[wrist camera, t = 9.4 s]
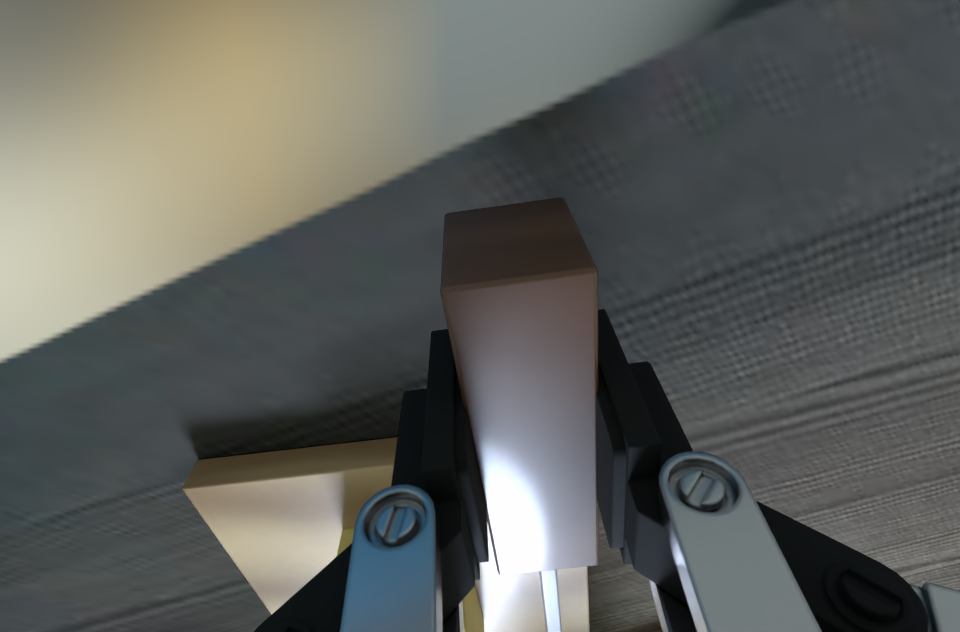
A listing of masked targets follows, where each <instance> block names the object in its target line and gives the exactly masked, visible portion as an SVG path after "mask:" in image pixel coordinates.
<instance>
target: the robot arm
mask: <svg viewBox="0 0 960 632" xmlns="http://www.w3.org/2000/svg"><path fill="white" fill-rule="evenodd" d="M596 446H597V501H598V504H599V508H600V512H601V516H602V520H603V524H604V527H605V531H606V535H607V539H608V543H609V546H610V548H611V549H613V548H620V551H621V555H622V558H623V562H624V564H633V568H634V569H635V570H636V571H638V572H639V573H641V574H642V575H643V576H645V577H646V578H648V579H649V580H650V587H651V590H652V594H653V598H654V602H655V606H656V609H657V613H658V617H659V621H660V625H661V628H662V632H960V591H959V590H955V589H951V588H947V587H944V586H940V585H936V584H932V583H928V582H925V583H924V585H923V586H922V588H921V587H918V586H914V585H910V584H908V583H907V582H906V581H905V580H904V579H903V578H902V577H901V576H899V575H898V574H897V573H896V572H894V571H893V570H891V569H890V568H888V567H886V566H885V565H883V564H881V563H880V562H878V561H876V560H874V559H872V558H870V557H868V556H866V555H864V554H862V553H860V552H858V551H856V550H854V549H852V548H850V547H848V546H846V545H844V544H842V543H840V542H838V541H836V540H834V539H832V538H830V537H828V536H826V535H824V534H822V533H820V532H818V531H816V530H814V529H812V528H810V527H808V526H806V525H804V524H802V523H800V522H798V521H795V520H793V519H791V518H789V517H787V516H785V515H783V514H781V513H779V512H777V511H775V510H773V509H771V508H769V507H767V506H765V505H763V504H761V503H759V502H757V501H756V500H755V498H754V496H753V494H752V492H751V490H750V488H749V486H748V484H747V482H746V480H745V479H744V477H743V476H742V475H741V473H740V472H739V470H737V469H736V468H735V467H734V466H733V465H731V464H730V463H729V462H728V461H726V460H724V459H722V458H720V457H718V456H716V455H712V454H708V453H704V452H693V450H692V448H691V446H690V444H689V442H688V440H687V438H686V436H685V434H684V432H683V430H682V428H681V425H680V423H679V421H678V419H677V417H676V415H675V413H674V411H673V409H672V407H671V405H670V403H669V401H668V399H667V397H666V395H665V393H664V390H663V388H662V386H661V384H660V382H659V380H658V378H657V376H656V374H655V372H654V370H653V368H652V366H651V365H650V363H648V362H639V363H631V364H628V362H627V360H626V357H625V355H624V353H623V350H622V348H621V346H620V343H619V341H618V339H617V336H616V334H615V332H614V329H613V327H612V325H611V322H610V320H609V318H608V315H607V313H606V311H605V310H604V309H602V310H598V392H597V393H596ZM482 562H489V549H488V530H487V511H486V506H485V501H484V496H483V491H482V486H481V481H480V476H479V471H478V466H477V461H476V456H475V451H474V446H473V441H472V436H471V431H470V427H469V422H468V417H467V412H466V408H465V407H464V405H463V400H462V395H461V390H460V385H459V380H458V376H457V371H456V366H455V361H454V356H453V351H452V346H451V341H450V336H449V331H448V329H445V330H437V331H432V333H431V344H430V357H429V370H428V383H427V389H419V390H411V391H405V392H404V394H403V399H402V407H401V414H400V422H399V429H398V437H397V445H396V452H395V460H394V467H393V475H392V483H391V487H388V488H385V489H383V490H381V491H380V492H378V493H376V494H374V495H373V496H372V497H371V498H370V499H369V500H368V501H367V502H366V503H365V504H364V505H363V507H362V508H361V510H360V511H359V513H358V516H357V519H356V522H355V527H354V534H353V542H352V543H351V544H350V545H349V546H348V547H347V548H346V549H345V550H344V551H342V552H341V553H340V554H339V555H338V556H337V557H336V558H335V559H333V560H332V561H331V562H330V563H329V564H328V565H327V566H326V567H325V568H323V569H322V570H321V571H320V572H319V573H318V574H317V575H316V576H314V577H313V578H312V579H311V580H310V581H309V582H308V583H307V584H306V585H304V586H303V587H302V588H301V589H300V590H299V591H298V592H297V593H295V594H294V595H293V596H292V597H291V598H290V599H289V600H288V601H286V602H285V603H284V604H283V605H282V606H281V607H280V608H279V609H278V610H276V611H275V612H274V613H273V614H272V615H271V616H270V617H269V618H267V619H266V620H265V621H264V622H263V623H262V624H261V625H260V626H259V627H258V628H257V629H256V630H255V631H254V632H464V626H463V606H462V600H463V599H464V598H465V597H466V595H467V594H468V593H469V592H470V591H471V590H472V589H473V588H474V586H475V580H480V563H482Z"/></svg>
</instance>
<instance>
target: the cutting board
mask: <svg viewBox="0 0 960 632" xmlns="http://www.w3.org/2000/svg"><path fill="white" fill-rule="evenodd" d="M396 445H397V437H395V438H386V439H377V440H368V441H360V442H351V443H342V444H333V445H325V446H316V447H307V448H298V449H290V450H281V451H272V452H263V453H255V454H246V455H237V456H228V457H220V458H211V459H202V460H198V461H197V462H196V464H195V466H194V468H193V470H192V472H191V473H190V475H189V477H188V479H187V481H186V483H185V485H184V486H183V491H184V492H185V493H186V495H187V496H188V498H189V499H190V500H191V502H192V503H193V505H194V506H195V508H196V509H197V510H198V512H199V513H200V515H201V516H202V517H203V519H204V520H205V522H206V523H207V524H208V526H209V527H210V529H211V530H212V531H213V533H214V534H215V536H216V537H217V538H218V540H219V541H220V543H221V544H222V545H223V547H224V548H225V550H226V551H227V553H228V554H229V555H230V557H231V558H232V560H233V561H234V562H235V564H236V565H237V567H238V568H239V569H240V571H241V572H242V574H243V575H244V576H245V578H246V579H247V581H248V582H249V583H250V585H251V586H252V588H253V589H254V590H255V592H256V593H257V595H258V596H259V597H260V599H261V600H262V602H263V603H264V605H265V606H266V607H267V609H268V610H269V612H270V613H271V614H273V613H274V612H275V611H276V610H278V609H279V608H280V607H281V606H282V605H283V604H284V603H285V602H286V601H288V600H289V599H290V598H291V597H292V596H293V595H294V594H295V593H297V592H298V591H299V590H300V589H301V588H302V587H303V586H304V585H306V584H307V583H308V582H309V581H310V580H311V579H312V578H313V577H314V576H316V575H317V574H318V573H319V572H320V571H321V570H322V569H323V568H325V567H326V566H327V565H328V564H329V563H330V562H331V561H332V560H333V559H335V558H336V556H337V552H338V547H339V542H340V538H341V533H342V529H346V528H354V527H355V522H356V519H357V516H358V513H359V511H360V510H361V508H362V507H363V505H364V504H365V503H366V502H367V501H368V500H369V499H370V498H371V497H372V496H373V495H374V494H376V493H378V492H380V491H381V490H383V489H385V488H388V487H391V483H392V475H393V467H394V460H395V452H396ZM487 530H488V549H489V562H482V563H480V580H475V589H476V593H477V597H478V601H479V605H480V609H481V613H482V617H483V621H484V632H546V625H545V617H544V609H543V601H542V593H541V585H540V576H539V572H529V573H520V574H510V575H499V574H498V571H497V567H496V562H495V557H494V552H493V547H492V542H491V537H490V532H489V527H488V522H487ZM557 582H558V593H559V604H560V616H561V627H562V632H590V627H589V589H588V566H586V567H576V568H567V569H558V570H557Z"/></svg>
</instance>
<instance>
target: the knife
mask: <svg viewBox="0 0 960 632" xmlns="http://www.w3.org/2000/svg"><path fill="white" fill-rule="evenodd" d="M440 292H441V297H442V302H443V307H444V312H445V317H446V322H447V327H448V331H449V336H450V341H451V346H452V351H453V356H454V361H455V366H456V371H457V376H458V380H459V385H460V390H461V395H462V400H463V405H464V407H465V408H466V412H467V417H468V422H469V427H470V431H471V436H472V441H473V446H474V451H475V456H476V461H477V466H478V471H479V476H480V481H481V486H482V491H483V496H484V501H485V506H486V511H487V522H488V527H489V532H490V537H491V542H492V547H493V552H494V557H495V562H496V567H497V571H498V574H499V575H510V574H520V573H529V572H539V576H540V585H541V593H542V601H543V609H544V617H545V625H546V632H562V627H561V616H560V604H559V593H558V582H557V570H558V569H567V568H576V567H586V566H595V565H598V564H599V504H598V501H597V446H596V393H597V392H598V270H597V268H596V266H595V264H594V261H593V259H592V257H591V255H590V253H589V251H588V248H587V246H586V244H585V242H584V240H583V238H582V236H581V233H580V231H579V229H578V227H577V225H576V223H575V220H574V218H573V216H572V214H571V212H570V210H569V208H568V205H567V203H566V201H565V199H564V198H554V199H546V200H539V201H532V202H525V203H518V204H510V205H503V206H496V207H489V208H481V209H474V210H467V211H460V212H452V213H447V214H446V215H445V218H444V236H443V253H442V271H441V288H440Z"/></svg>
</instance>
